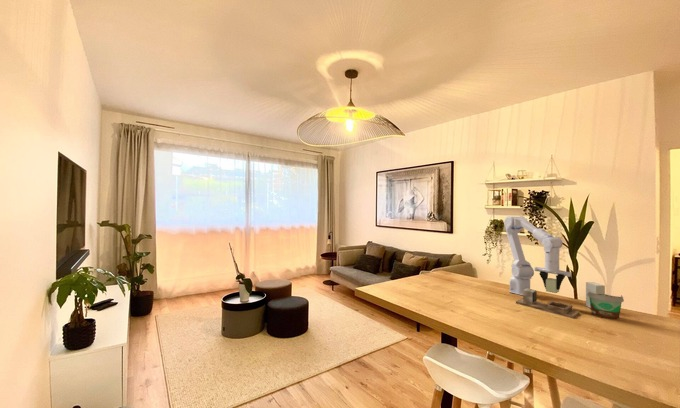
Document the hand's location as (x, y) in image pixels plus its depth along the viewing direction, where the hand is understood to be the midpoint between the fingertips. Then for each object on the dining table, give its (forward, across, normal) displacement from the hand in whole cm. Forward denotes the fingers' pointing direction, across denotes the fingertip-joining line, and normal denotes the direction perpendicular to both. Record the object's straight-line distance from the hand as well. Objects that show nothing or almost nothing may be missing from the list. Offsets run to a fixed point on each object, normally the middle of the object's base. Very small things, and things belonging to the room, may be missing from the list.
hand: (552, 288), depth 139 cm
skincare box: (+9, -14, -12) cm, 20 cm away
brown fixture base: (+8, 0, +8) cm, 12 cm away
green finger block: (+2, 0, 0) cm, 2 cm away
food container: (+9, -20, -2) cm, 22 cm away
